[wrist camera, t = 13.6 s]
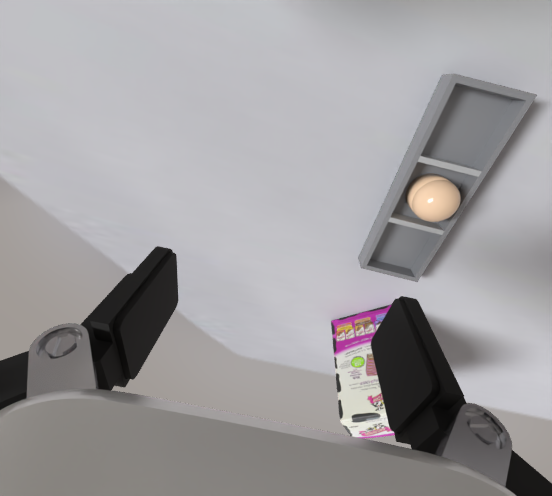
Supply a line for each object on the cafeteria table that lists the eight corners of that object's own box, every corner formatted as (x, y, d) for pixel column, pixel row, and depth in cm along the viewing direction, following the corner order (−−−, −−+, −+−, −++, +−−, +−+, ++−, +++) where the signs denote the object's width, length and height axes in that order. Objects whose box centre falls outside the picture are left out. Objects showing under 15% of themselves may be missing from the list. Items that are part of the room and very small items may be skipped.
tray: (442, 74, 27) (453, 73, 25) (518, 94, 27) (537, 94, 25) (358, 257, 39) (360, 267, 36) (411, 270, 39) (417, 281, 36)
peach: (417, 168, 31) (433, 181, 27) (456, 178, 31) (479, 193, 27) (398, 206, 33) (410, 223, 29) (435, 215, 33) (452, 233, 29)
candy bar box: (340, 338, 48) (351, 442, 34) (330, 319, 46) (337, 421, 32) (405, 323, 44) (447, 432, 30) (397, 302, 42) (438, 408, 28)
